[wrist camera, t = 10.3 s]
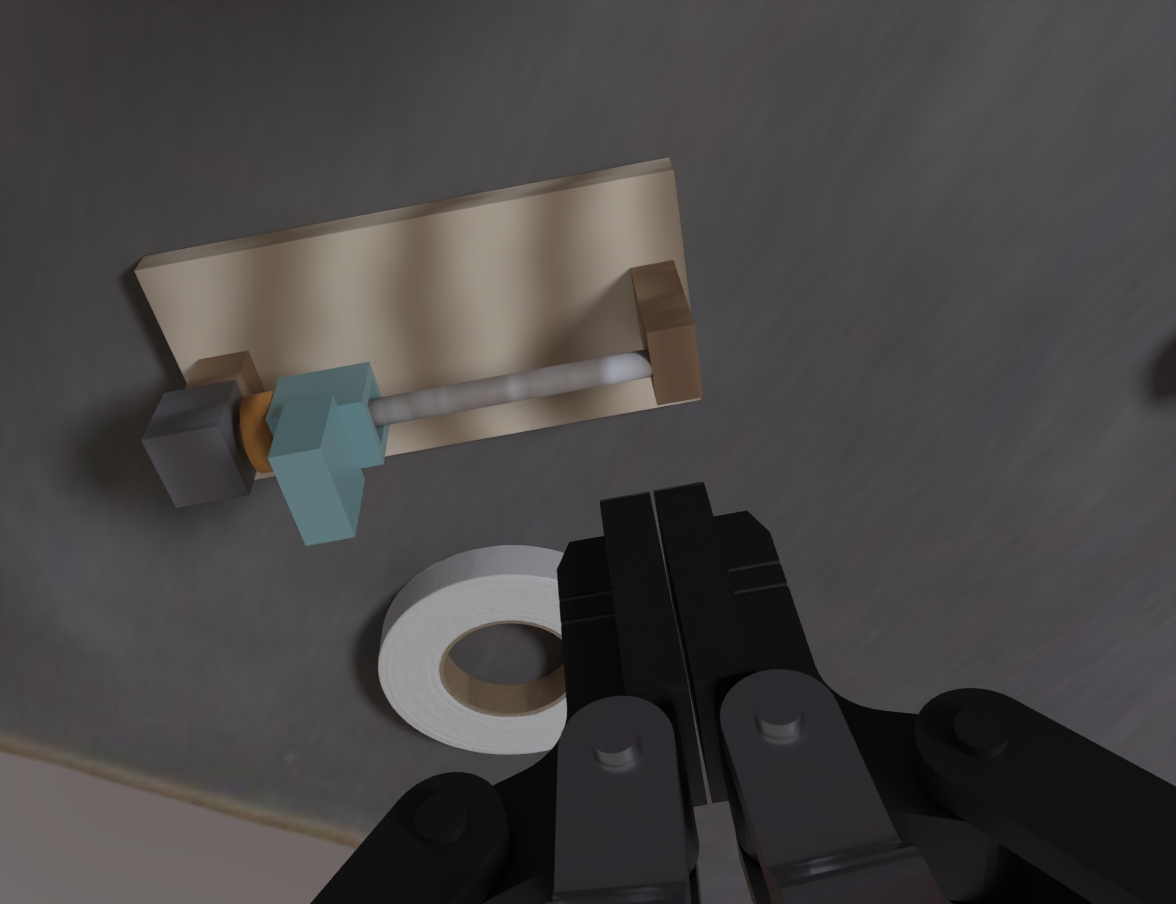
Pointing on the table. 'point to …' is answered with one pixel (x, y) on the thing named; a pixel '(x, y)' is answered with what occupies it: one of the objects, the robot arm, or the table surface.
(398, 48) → the table surface
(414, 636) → the roll of tape
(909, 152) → the table surface
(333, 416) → the teal stepped block
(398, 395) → the cable board
